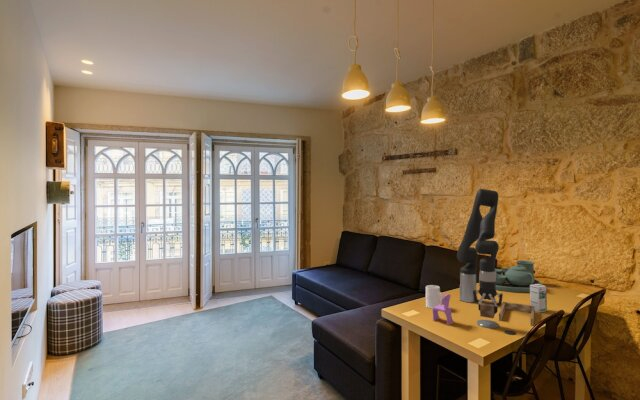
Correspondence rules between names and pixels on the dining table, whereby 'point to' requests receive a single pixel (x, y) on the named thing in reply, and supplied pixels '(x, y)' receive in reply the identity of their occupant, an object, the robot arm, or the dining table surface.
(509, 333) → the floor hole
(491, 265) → the robot arm
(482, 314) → the walnut block
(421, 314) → the dining table surface
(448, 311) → the toy chair
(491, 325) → the slate coaster
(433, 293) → the mug
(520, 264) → the tea set
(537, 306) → the syrup box
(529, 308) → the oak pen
